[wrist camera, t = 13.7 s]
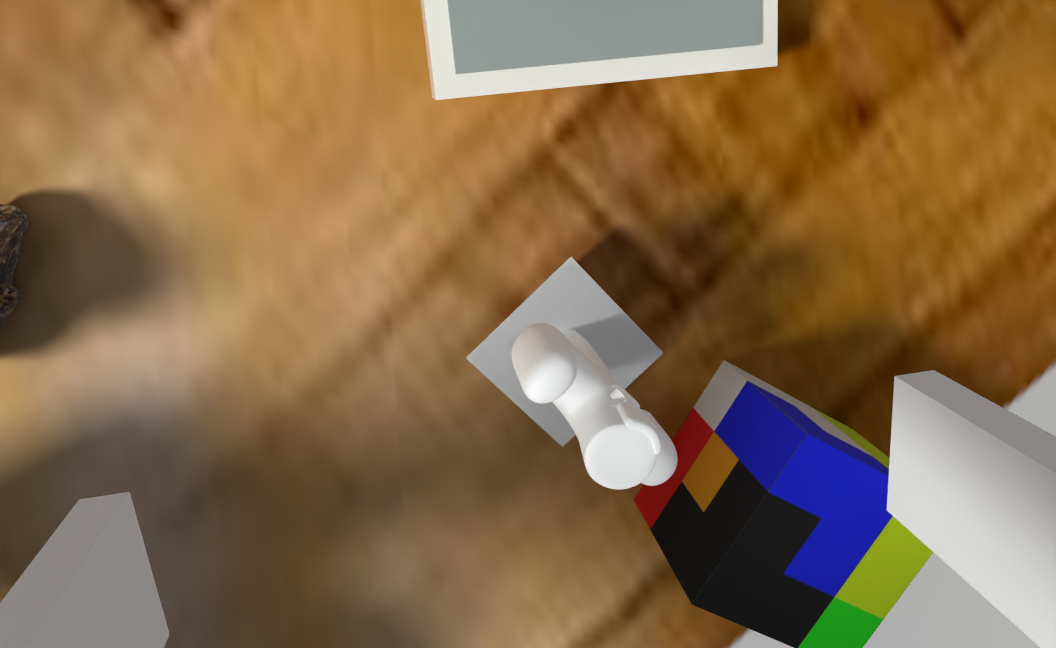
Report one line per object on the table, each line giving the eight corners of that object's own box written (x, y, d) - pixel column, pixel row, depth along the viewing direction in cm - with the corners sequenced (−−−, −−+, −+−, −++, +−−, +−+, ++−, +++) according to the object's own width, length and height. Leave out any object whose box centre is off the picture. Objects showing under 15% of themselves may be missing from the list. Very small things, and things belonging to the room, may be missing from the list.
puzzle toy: (723, 359, 46) (807, 433, 36) (851, 428, 48) (961, 514, 39) (633, 499, 47) (691, 604, 38) (762, 558, 50) (846, 669, 41)
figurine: (562, 430, 45) (637, 591, 31) (445, 321, 42) (468, 444, 28) (655, 344, 45) (774, 468, 30) (542, 227, 42) (616, 304, 27)
